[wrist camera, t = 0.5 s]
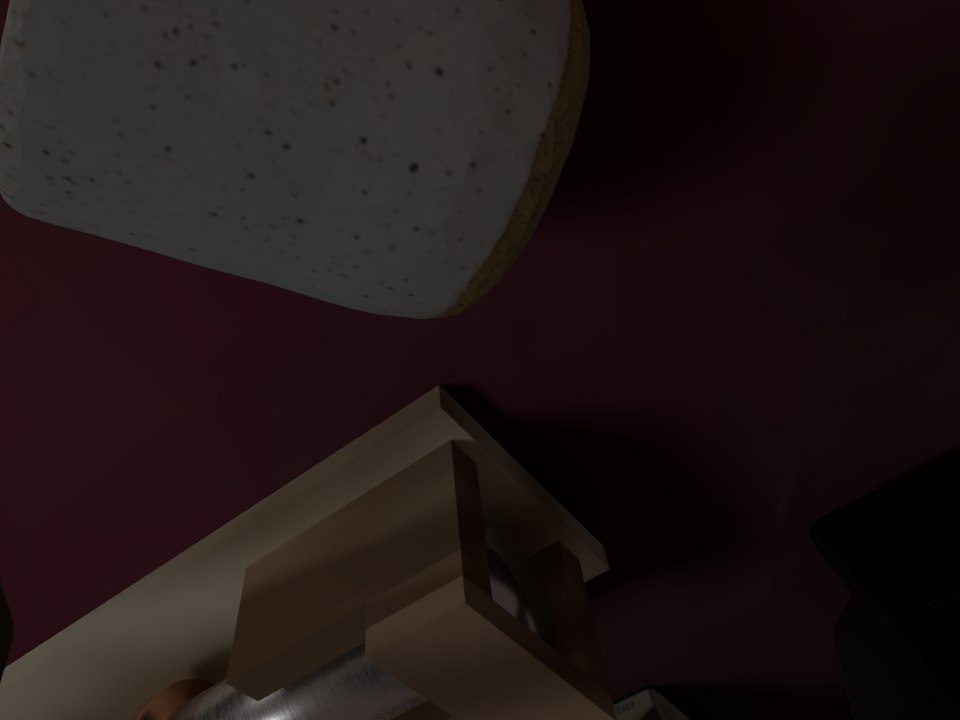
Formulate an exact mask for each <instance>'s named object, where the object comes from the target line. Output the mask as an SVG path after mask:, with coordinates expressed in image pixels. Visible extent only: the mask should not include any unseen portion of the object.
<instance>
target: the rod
mask: <svg viewBox="0 0 960 720" xmlns="http://www.w3.org/2000/svg"><path fill="white" fill-rule="evenodd" d="M484 532H485V541H486V549H487V557H488V565H489V573H490V582H491V590H492V598H493V600H494V601H495V602H497V603H498V604H499V605H500V606H502V607H503V608H504V609H505V610H507V611H508V612H509V613H510V614H512V615H513V616H514V617H515V618H516V619H518V620H519V621H520V622H521V623H523V624H524V625H525V626H526V627H528V628H529V629H530V630H531V631H533V632H534V633H535V634H536V635H538V636H539V637H540V638H541V639H542V640H544V641H545V640H547V639H548V637H549V636H550V633H551V628H552V620H551V612H550V607H549V603H548V599H547V596H546V593H545V590H544V588H543V586H542V583H541V581H540V579H539V577H538V575H537V573H536V571H535V569H534V567H533V565H532V564H531V562H530V561H529V559H528V557H527V556H526V555H525V553H524V552H523V550H522V549H521V548H520V547H519V545H518V544H517V543H516V542H515V541H514V540H513V539H512V538H511V537H510V536H509V535H508V534H506V533H505V532H503V531H502V530H500V529H498V528H495V527H489V528H486V529H485V530H484ZM226 679H227V678H226ZM226 679H224V680H222V681H220V682H219V683H217V684H214V683H212V682H210V681H207V680H203V679H184V680H181V681H178V682H175V683H173V684H172V685H170V686H168V687H167V688H165V689H163V690H162V691H160V692H158V693H156V694H155V695H153V696H151V697H150V698H148V699H147V700H145V701H144V702H143V703H142V704H141V705H140V706H139V707H138V708H137V709H136V710H135V712H134V713H133V715H132V716H131V718H130V720H391V719H393V718H395V717H397V716H399V715H401V714H403V713H405V712H407V711H409V710H411V709H413V708H415V707H417V706H419V705H421V704H423V703H425V702H427V701H428V699H426V698H425V697H423V696H422V695H420V694H419V693H417V692H415V691H414V690H412V689H411V688H409V687H408V686H406V685H405V684H403V683H402V682H400V681H399V680H397V679H396V678H394V677H393V676H391V675H390V674H388V673H387V672H385V671H383V670H382V669H380V668H379V667H377V666H376V665H374V664H373V663H371V662H370V661H368V660H367V659H365V642H364V643H363V644H361V645H359V646H357V647H355V648H353V649H352V650H350V651H348V652H346V653H344V654H343V655H341V656H339V657H337V658H335V659H334V660H332V661H330V662H328V663H326V664H325V665H323V666H321V667H319V668H317V669H316V670H314V671H312V672H310V673H308V674H307V675H305V676H303V677H301V678H299V679H298V680H296V681H294V682H292V683H290V684H289V685H287V686H285V687H283V688H281V689H280V690H278V691H276V692H274V693H272V694H271V695H269V696H267V697H265V698H263V699H262V700H260V701H256V700H254V699H253V698H251V697H249V696H247V695H245V694H244V693H242V692H240V691H238V690H237V689H235V688H233V687H231V686H229V685H228V684H226Z"/></svg>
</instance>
